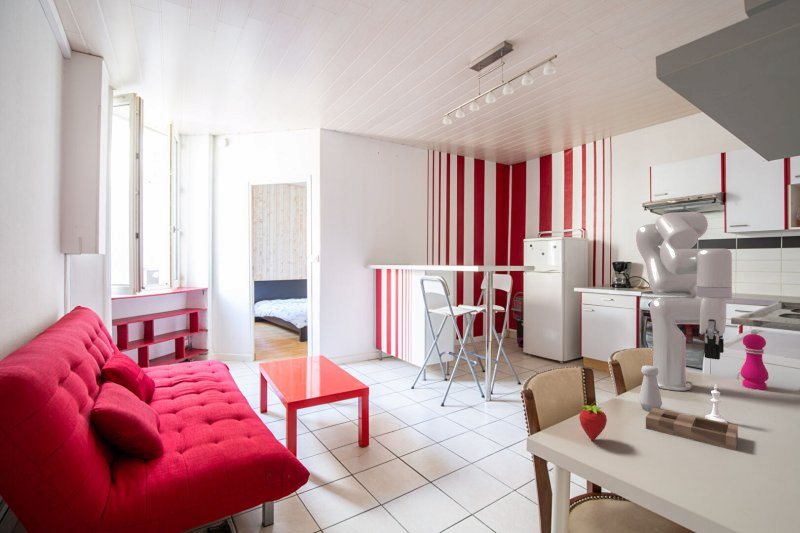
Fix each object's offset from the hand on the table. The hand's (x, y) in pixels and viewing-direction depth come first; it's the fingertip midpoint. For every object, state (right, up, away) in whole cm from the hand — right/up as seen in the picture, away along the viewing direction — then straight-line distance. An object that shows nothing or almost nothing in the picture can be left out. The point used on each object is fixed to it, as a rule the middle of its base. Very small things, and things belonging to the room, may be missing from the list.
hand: (714, 355), depth 106 cm
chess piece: (+1, -18, 0) cm, 18 cm away
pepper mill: (+37, -18, +28) cm, 49 cm away
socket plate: (-12, -18, -7) cm, 23 cm away
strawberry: (-39, -19, -11) cm, 44 cm away
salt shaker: (-12, -19, +9) cm, 24 cm away
